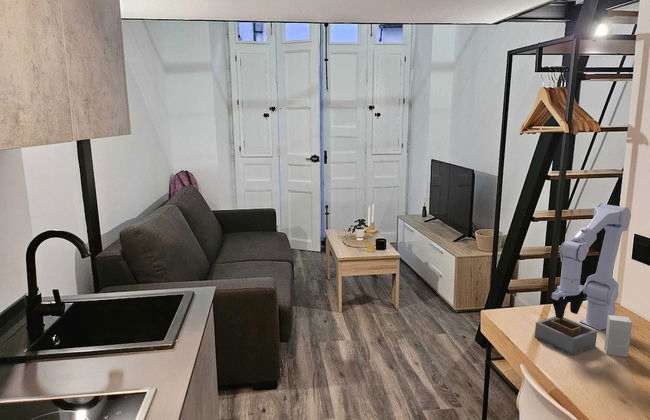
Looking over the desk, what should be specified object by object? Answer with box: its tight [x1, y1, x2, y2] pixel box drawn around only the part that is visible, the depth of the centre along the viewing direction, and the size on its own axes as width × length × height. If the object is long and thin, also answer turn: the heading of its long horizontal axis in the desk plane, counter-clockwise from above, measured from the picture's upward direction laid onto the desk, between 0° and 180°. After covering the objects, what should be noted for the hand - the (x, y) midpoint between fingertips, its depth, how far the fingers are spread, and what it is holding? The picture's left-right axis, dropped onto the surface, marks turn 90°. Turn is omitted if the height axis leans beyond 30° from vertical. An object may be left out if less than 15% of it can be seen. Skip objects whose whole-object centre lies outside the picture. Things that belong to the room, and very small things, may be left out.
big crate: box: [534, 315, 598, 356], centre depth 158 cm, size 12×14×6 cm
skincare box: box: [603, 315, 633, 358], centre depth 150 cm, size 6×4×12 cm
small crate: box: [550, 318, 582, 338], centre depth 158 cm, size 5×8×6 cm, turn 27°
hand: (566, 315), depth 157 cm, fingers open, 7 cm apart
